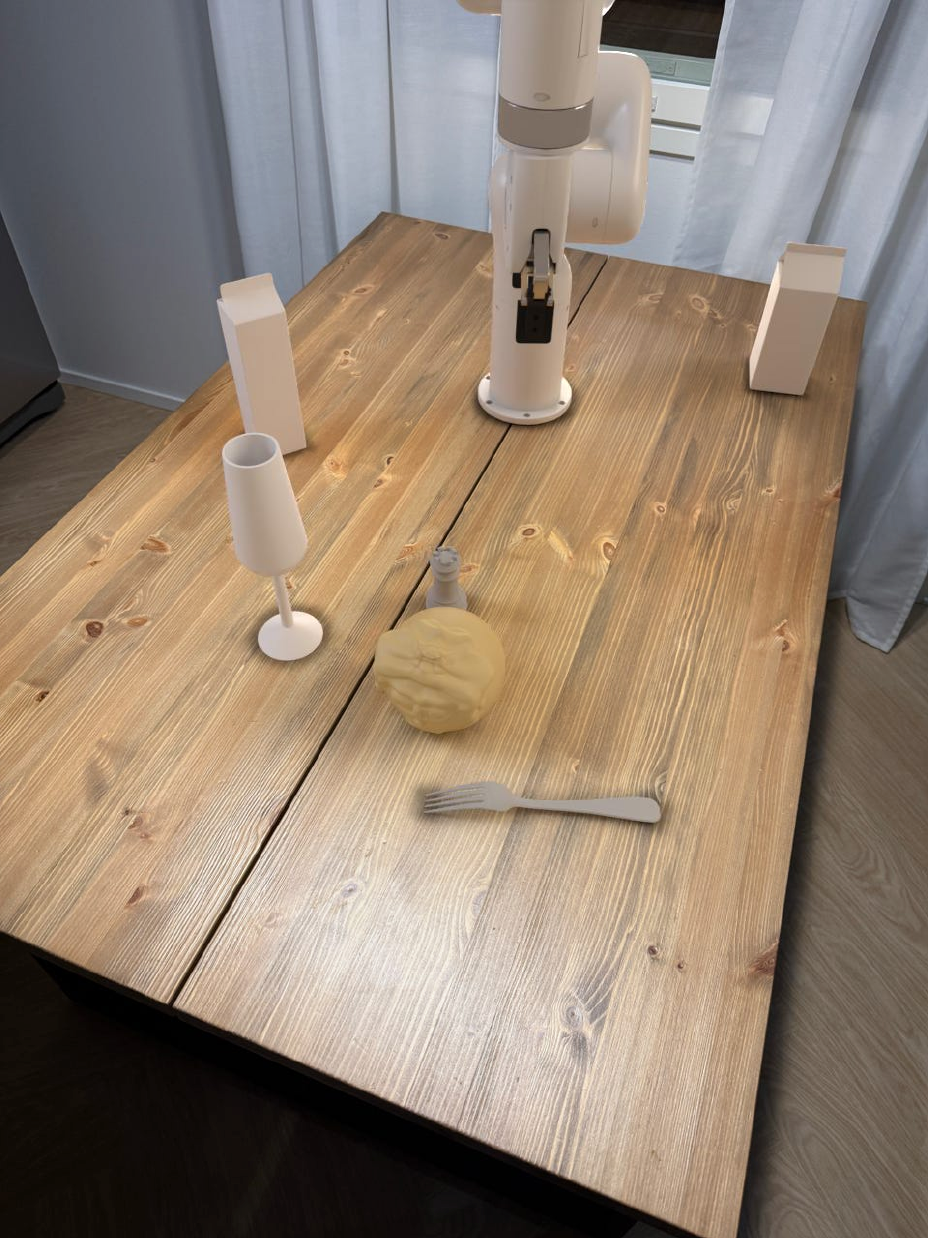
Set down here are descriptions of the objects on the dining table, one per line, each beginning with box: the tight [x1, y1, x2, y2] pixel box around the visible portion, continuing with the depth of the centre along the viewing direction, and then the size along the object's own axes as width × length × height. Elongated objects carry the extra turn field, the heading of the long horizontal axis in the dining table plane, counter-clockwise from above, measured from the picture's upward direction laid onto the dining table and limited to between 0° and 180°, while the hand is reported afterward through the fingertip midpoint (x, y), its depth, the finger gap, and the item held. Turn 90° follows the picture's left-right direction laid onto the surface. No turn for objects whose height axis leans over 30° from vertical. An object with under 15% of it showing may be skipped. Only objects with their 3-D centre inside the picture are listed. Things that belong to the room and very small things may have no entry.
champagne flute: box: [221, 433, 324, 661], centre depth 83 cm, size 7×7×24 cm
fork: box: [423, 780, 662, 824], centre depth 79 cm, size 3×21×3 cm, turn 88°
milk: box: [216, 272, 307, 456], centre depth 105 cm, size 6×6×22 cm
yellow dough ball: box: [372, 607, 507, 735], centre depth 83 cm, size 12×12×11 cm
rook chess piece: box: [425, 545, 468, 611], centre depth 92 cm, size 4×4×8 cm
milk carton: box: [749, 241, 848, 396], centre depth 116 cm, size 7×7×19 cm
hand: (530, 313), depth 84 cm, fingers open, 9 cm apart
